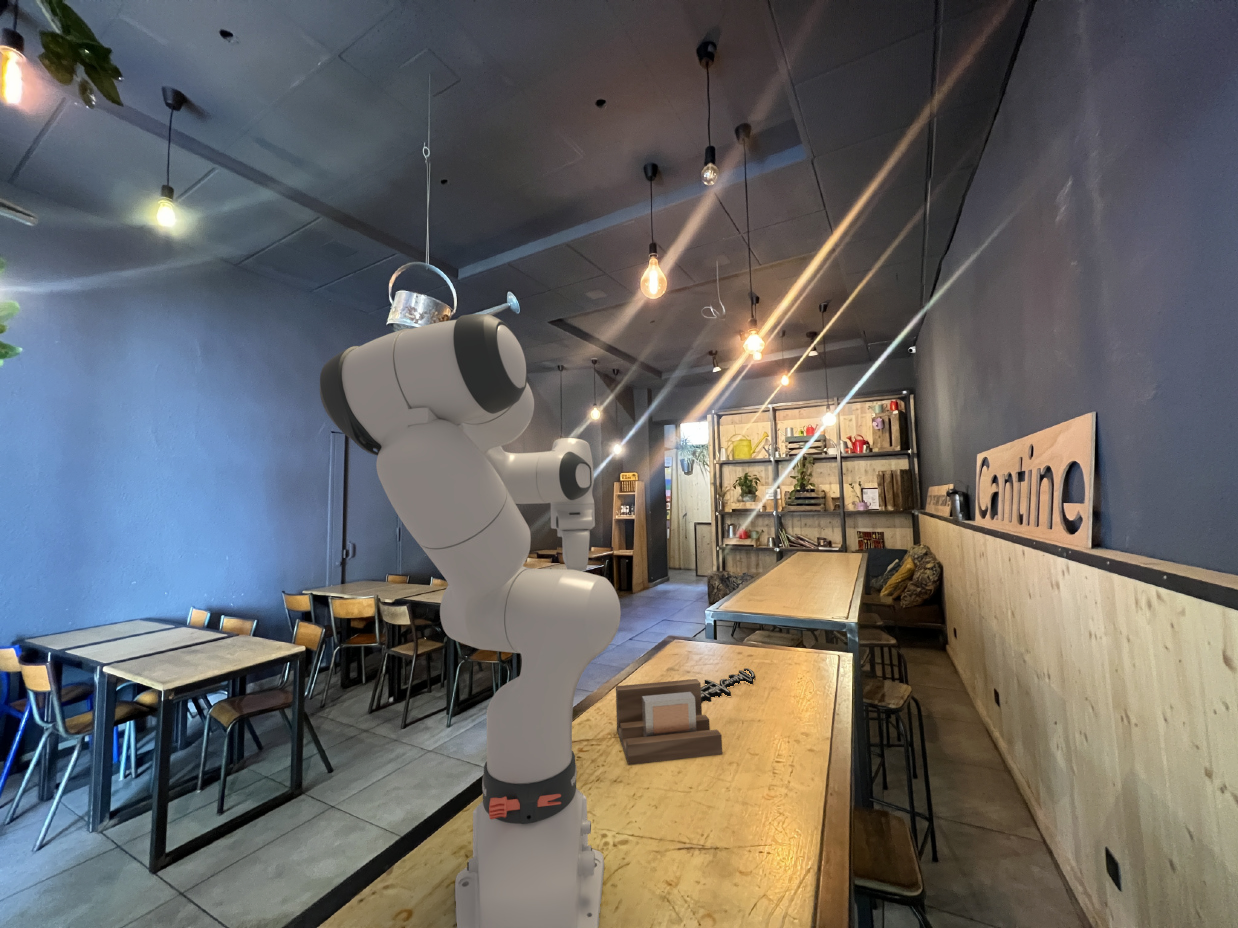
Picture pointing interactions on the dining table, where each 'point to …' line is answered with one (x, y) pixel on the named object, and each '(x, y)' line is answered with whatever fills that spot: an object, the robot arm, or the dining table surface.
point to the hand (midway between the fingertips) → (574, 588)
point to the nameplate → (724, 685)
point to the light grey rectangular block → (668, 714)
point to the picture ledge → (663, 745)
